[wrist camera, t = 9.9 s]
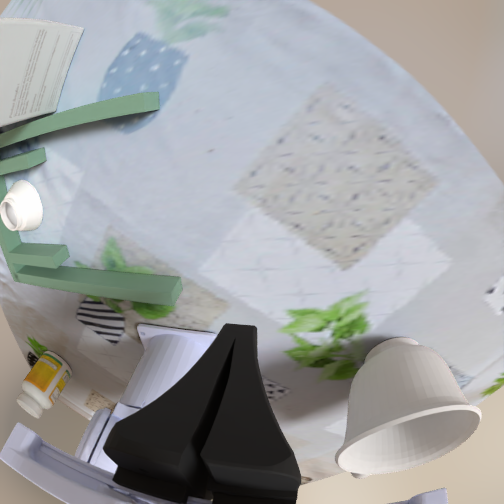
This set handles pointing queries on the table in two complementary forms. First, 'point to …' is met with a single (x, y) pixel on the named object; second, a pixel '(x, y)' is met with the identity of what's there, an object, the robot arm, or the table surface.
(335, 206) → the table surface
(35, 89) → the supplement box
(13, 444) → the robot arm
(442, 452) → the teacup
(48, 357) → the supplement bottle
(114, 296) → the green frame
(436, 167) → the table surface
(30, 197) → the white jar
